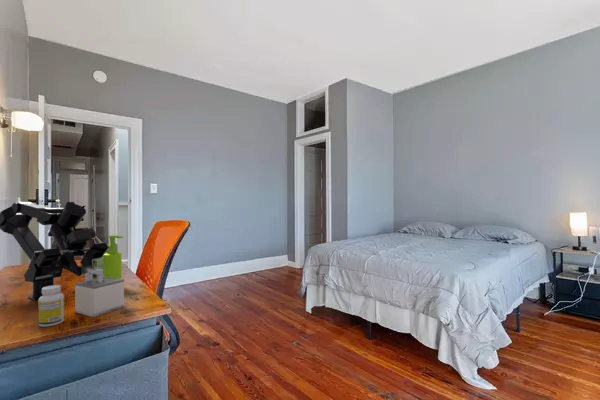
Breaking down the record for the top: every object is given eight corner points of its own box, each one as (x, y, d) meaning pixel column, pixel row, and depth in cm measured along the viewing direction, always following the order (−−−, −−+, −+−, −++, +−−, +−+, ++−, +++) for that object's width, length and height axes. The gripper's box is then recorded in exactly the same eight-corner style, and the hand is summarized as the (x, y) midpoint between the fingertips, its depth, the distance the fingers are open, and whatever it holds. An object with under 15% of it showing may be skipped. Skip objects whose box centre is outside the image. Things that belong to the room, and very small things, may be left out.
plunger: (75, 291, 95) (75, 266, 95) (85, 289, 97) (85, 264, 97) (96, 296, 90) (96, 269, 90) (106, 293, 93) (106, 267, 93)
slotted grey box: (75, 312, 90) (75, 283, 90) (105, 303, 98) (105, 276, 98) (93, 317, 86) (94, 286, 86) (123, 307, 94) (124, 279, 94)
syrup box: (83, 287, 116) (84, 249, 116) (99, 283, 121) (99, 247, 121) (93, 289, 113) (94, 250, 114) (109, 285, 119) (109, 248, 119)
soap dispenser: (115, 290, 111) (115, 236, 112) (99, 289, 113) (99, 236, 113) (127, 286, 117) (127, 234, 117) (111, 285, 119) (112, 234, 119)
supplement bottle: (48, 319, 84) (48, 284, 84) (69, 319, 85) (69, 284, 85) (32, 327, 79) (33, 290, 79) (55, 326, 79) (55, 289, 79)
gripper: (41, 222, 89) (62, 263, 84) (105, 219, 106) (126, 252, 101) (27, 247, 92) (47, 288, 87) (91, 240, 109) (110, 274, 104)
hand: (85, 274), depth 95 cm, fingers closed on plunger, 3 cm apart
